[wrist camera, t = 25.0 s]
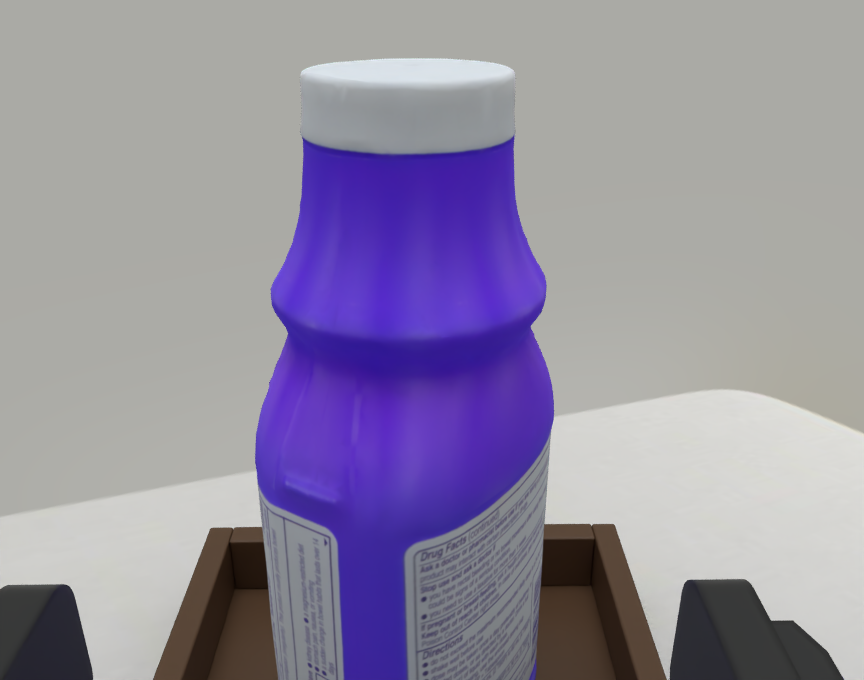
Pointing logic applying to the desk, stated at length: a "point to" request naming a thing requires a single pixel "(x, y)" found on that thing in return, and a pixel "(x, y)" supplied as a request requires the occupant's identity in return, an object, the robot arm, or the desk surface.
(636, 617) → the tray
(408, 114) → the bottle
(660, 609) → the desk surface
